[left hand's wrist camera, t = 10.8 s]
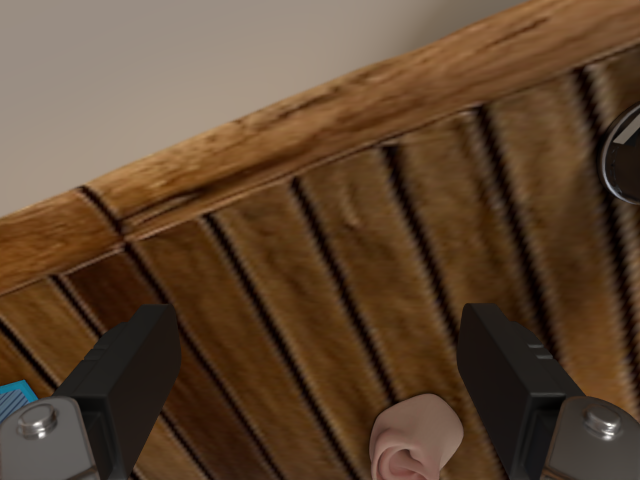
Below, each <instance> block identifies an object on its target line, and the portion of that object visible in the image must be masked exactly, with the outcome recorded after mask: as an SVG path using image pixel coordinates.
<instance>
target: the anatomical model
mask: <svg viewBox="0 0 640 480" xmlns="http://www.w3.org/2000/svg"><path fill="white" fill-rule="evenodd" d="M462 438H463V427H462V424H461V422H460V419H459V418H458V416H457V415H456V413H455V412H454V411H453V409H452V408H451V407H450V406H449V405H448V404H447V403H446V402H445V401H444V400H443V399H441V398H440V397H438V396H436V395H434V394H422V395H418V396H415V397H412V398H410V399H407V400H405V401H402V402H399V403H397V404H395V405H394V406H392V407H390V408H388V409H386V410H385V411H383V412H382V413H381V414H380V415H379V416H378V417H377V419H376V421H375V423H374V427H373V430H372V434H371V439H370V446H369V453H370V459H371V462H372V463H371V475H372V479H373V480H439V472H440V470H441V468H442V467H443V466H444V465H445V464H446V463H447V461H448V460H449V459H450V458H451V456H452V455H453V454H454V453H455V451H456V450H457V448H458V447H459V445H460V443H461V441H462Z"/></svg>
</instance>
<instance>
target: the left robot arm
mask: <svg viewBox="0 0 640 480" xmlns="http://www.w3.org/2000/svg"><path fill="white" fill-rule="evenodd" d="M597 170H598V175H599V178H600V181H601V183H602V185H603V186H604V188H605V189H606V190H607V191H608V192H609V193H610V194H611V195H613V196H614V197H616V198H618V199H621V200H623V201H626V202H628V203H632V204H636V205H640V101H639V102H637V103H635V104H634V105H632V106H631V107H629V108H628V109H626V110H625V111H624V112H623V113H622V114H621V115H619V116H618V117H617V119H616V120H615V121H614V122H613V123H612V124H611V126H610V127H609V129H608V130H607V132H606V133H605V135H604V137H603V139H602V142H601V144H600V147H599V151H598V156H597ZM457 365H458V370H459V373H460V375H461V377H462V380H463V382H464V384H465V386H466V388H467V390H468V392H469V394H470V396H471V399H472V401H473V403H474V405H475V407H476V409H477V411H478V413H479V415H480V417H481V420H482V422H483V424H484V426H485V428H486V430H487V432H488V434H489V436H490V438H491V441H492V443H493V445H494V447H495V449H496V451H497V453H498V455H499V457H500V459H501V462H502V464H503V466H504V468H505V470H506V472H507V474H508V476H509V478H510V480H640V424H639V423H638V422H637V421H636V420H635V419H634V418H633V417H632V416H631V415H630V414H628V413H627V412H626V411H624V410H623V409H621V408H619V407H618V406H616V405H614V404H612V403H609V402H607V401H604V400H601V399H598V398H594V397H589V396H586V395H585V394H584V393H583V392H582V390H581V389H580V388H579V387H578V386H577V384H576V383H575V382H574V381H573V380H572V379H571V377H570V376H569V375H568V374H567V373H566V371H565V370H564V369H563V368H562V367H561V365H560V364H559V363H558V362H557V361H556V360H555V359H553V356H552V355H551V354H550V352H549V351H548V350H547V349H546V348H544V345H543V344H542V343H541V342H540V341H539V339H538V338H537V337H536V336H535V335H534V333H533V332H531V331H530V330H528V329H527V328H525V327H523V326H522V325H520V324H519V323H517V322H516V321H509V320H508V319H507V318H506V316H505V315H504V314H503V313H502V311H501V310H500V309H499V308H498V306H497V305H496V304H494V303H467V304H465V306H464V308H463V312H462V318H461V325H460V332H459V339H458V346H457ZM180 366H181V347H180V340H179V333H178V327H177V320H176V313H175V309H174V307H173V305H172V304H143V305H141V306H140V308H139V309H138V310H137V311H136V313H135V314H134V315H133V317H132V318H131V319H130V320H129V322H121V323H120V324H118V325H117V326H115V327H114V328H112V329H111V330H109V331H108V332H106V333H105V334H104V335H103V336H102V337H101V338H100V339H99V341H98V342H97V343H96V344H95V345H94V348H93V349H91V350H90V351H89V352H88V354H87V355H86V356H85V357H84V360H82V361H81V362H80V363H79V364H78V365H77V366H76V368H75V369H74V370H73V371H72V372H71V374H70V375H69V376H68V377H67V378H66V379H65V381H64V382H63V383H62V384H61V385H60V386H59V388H58V389H57V390H56V391H55V392H54V394H53V395H52V396H51V397H46V398H42V399H39V400H36V401H33V402H31V403H28V404H26V405H24V406H22V407H21V408H19V409H17V410H16V411H14V412H13V413H12V414H10V415H9V416H8V417H7V418H6V419H5V420H4V421H3V422H2V423H1V424H0V480H128V478H129V476H130V474H131V472H132V469H133V467H134V465H135V463H136V461H137V459H138V457H139V455H140V453H141V451H142V449H143V447H144V445H145V442H146V440H147V438H148V436H149V434H150V432H151V430H152V428H153V426H154V424H155V422H156V420H157V417H158V415H159V413H160V411H161V409H162V407H163V405H164V403H165V401H166V399H167V397H168V395H169V393H170V390H171V388H172V386H173V384H174V382H175V380H176V378H177V376H178V374H179V370H180Z"/></svg>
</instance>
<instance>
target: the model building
mask: <svg viewBox="0 0 640 480" xmlns="http://www.w3.org/2000/svg"><path fill="white" fill-rule="evenodd" d="M36 400H39V399H38V398H37V397H36V395H35V394H34V392H33V391H32V390H31V388H30V387H29V385H28V384H27V383H26V381H25V380H22V381H18V382H15V383H11V384H7V385H4V386H0V424H1V423H2V422H3V421H4V420H5V419H6V418H7V417H8V416H9V415H10V414H12V413H13V412H14V411H16V410H17V409H19V408H21V407H22V406H24V405H26V404H28V403H31V402H33V401H36Z"/></svg>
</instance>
